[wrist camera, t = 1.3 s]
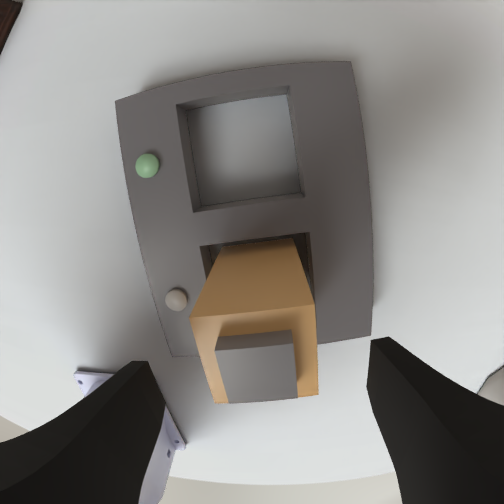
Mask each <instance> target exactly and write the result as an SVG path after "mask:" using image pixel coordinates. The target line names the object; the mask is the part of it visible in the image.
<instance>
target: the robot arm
mask: <svg viewBox="0 0 504 504" xmlns="http://www.w3.org/2000/svg"><path fill="white" fill-rule="evenodd" d="M73 376H74V378H75V380H76V382H77V384H78V385H79V387H80V389H81V391H82V392H83V394H84V398H83V399H82V400H81V401H79V402H78V403H77V404H75V405H74V406H72V407H71V408H70V409H68V410H67V411H65V412H64V413H62V414H61V415H59V416H58V417H56V418H54V419H53V420H51V421H49V422H47V423H46V424H44V425H42V426H40V427H38V428H36V429H34V430H32V431H29V432H27V433H25V434H23V435H21V436H18V437H16V438H13V439H10V440H8V441H5V442H1V443H0V504H158V503H159V502H160V500H161V498H162V496H163V493H164V490H165V486H166V483H167V479H168V476H169V472H170V468H171V465H172V461H173V458H174V454H175V450H185V448H186V445H185V443H184V441H183V439H182V437H181V435H180V433H179V431H178V429H177V427H176V425H175V423H174V421H173V419H172V417H171V415H170V413H169V411H168V409H167V407H166V403H165V400H164V398H163V396H162V394H161V392H160V389H159V387H158V385H157V383H156V380H155V378H154V376H153V373H152V371H151V368H150V366H149V363H148V361H131V362H130V363H129V364H127V365H126V366H124V367H123V368H122V369H120V370H119V371H118V372H117V373H115V374H108V373H94V372H82V371H76V372H75V373H74V375H73ZM366 387H367V391H368V395H369V399H370V403H371V406H372V410H373V413H374V416H375V419H376V421H377V424H378V426H379V429H380V431H381V434H382V436H383V439H384V441H385V444H386V446H387V449H388V452H389V454H390V457H391V459H392V462H393V465H394V468H395V471H396V474H397V479H398V483H399V488H400V493H401V498H402V503H403V504H504V405H501V404H498V403H496V402H493V401H491V400H488V399H486V398H484V397H482V396H480V395H478V394H476V393H474V392H472V391H470V390H468V389H466V388H464V387H462V386H460V385H459V384H457V383H455V382H454V381H452V380H450V379H449V378H447V377H445V376H444V375H442V374H441V373H439V372H438V371H436V370H435V369H433V368H432V367H430V366H429V365H427V364H426V363H425V362H423V361H422V360H420V359H419V358H418V357H416V356H415V355H413V354H412V353H411V352H409V351H408V350H407V349H405V348H404V347H403V346H401V345H400V344H399V343H397V342H396V341H394V340H393V339H392V338H390V337H384V338H379V339H374V340H371V345H370V357H369V368H368V378H367V386H366Z"/></svg>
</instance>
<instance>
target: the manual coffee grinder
mask: <svg viewBox="0 0 504 504" xmlns="http://www.w3.org/2000/svg"><path fill="white" fill-rule="evenodd" d="M21 6H22V3H21V2H15V1H12V0H0V54H1V51H2V49H3V46H4V44H5V42H6V39H7V37H8V35H9V33H10V31H11V28H12V26H13V24H14V22H15V20H16V18H17V16H18V14H19V12H20V9H21Z"/></svg>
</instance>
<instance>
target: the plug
mask: <svg viewBox="0 0 504 504" xmlns="http://www.w3.org/2000/svg"><path fill="white" fill-rule="evenodd" d="M189 320H190V323H191V327H192V331H193V334H194V338H195V341H196V345H197V348H198V351H199V355H200V358H201V361H202V365H203V368H204V371H205V374H206V378H207V381H208V384H209V387H210V390H211V393H212V396H213V399H214V402H215V403H249V402H263V401H274V400H284V399H293V398H298V397H306V396H313V395H318V359H317V335H316V316H315V303H314V300H313V297H312V294H311V291H310V288H309V285H308V282H307V279H306V276H305V273H304V270H303V267H302V264H301V261H300V258H299V255H298V252H297V249H296V246H295V243H294V241H293V238H287V239H279V240H272V241H264V242H256V243H248V244H241V245H233V246H225V247H222V248H221V250H220V252H219V254H218V256H217V259H216V261H215V263H214V265H213V267H212V269H211V271H210V273H209V276H208V278H207V280H206V282H205V284H204V286H203V288H202V291H201V293H200V295H199V297H198V299H197V301H196V304H195V306H194V308H193V310H192V312H191V315H190V317H189Z"/></svg>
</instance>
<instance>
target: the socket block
mask: <svg viewBox="0 0 504 504" xmlns="http://www.w3.org/2000/svg"><path fill="white" fill-rule="evenodd" d="M284 94H287V99H288V105H289V111H290V117H291V124H292V130H293V137H294V144H295V151H296V158H297V165H298V173H299V180H300V188H301V193H295V194H287V195H279V196H271V197H264V198H256V199H249V200H242V201H235V202H228V203H222V204H215V205H209V206H203V207H201V202H200V197H199V191H198V185H197V179H196V173H195V167H194V161H193V154H192V148H191V142H190V135H189V128H188V121H187V114H186V110H190V109H195V108H200V107H205V106H210V105H215V104H220V103H226V102H232V101H238V100H244V99H251V98H258V97H266V96H274V95H284ZM115 106H116V115H117V124H118V132H119V139H120V147H121V153H122V160H123V166H124V172H125V178H126V184H127V189H128V194H129V200H130V205H131V210H132V214H133V219H134V224H135V228H136V233H137V237H138V241H139V246H140V250H141V254H142V258H143V262H144V266H145V269H146V273H147V277H148V281H149V284H150V288H151V291H152V295H153V298H154V302H155V305H156V309H157V312H158V315H159V318H160V322H161V325H162V328H163V331H164V334H165V337H166V340H167V343H168V346H169V349H170V352H171V355H172V357H184V356H200V355H199V351H198V348H197V345H196V341H195V338H194V334H193V331H192V327H191V323H190V320H189V317H190V315H191V312H192V310H193V308H194V306H195V304H196V301H197V299H198V297H199V295H200V293H201V291H202V288H203V286H204V284H205V282H206V280H207V278H208V276H209V273H210V271H211V269H212V267H213V266H212V261H211V256H210V251H209V246H208V245H212V244H219V243H227V242H234V241H242V240H250V239H257V238H265V237H273V236H280V235H288V234H296V233H304V232H305V233H306V243H307V253H308V265H309V276H310V289H311V294H312V297H313V300H314V303H315V316H316V335H317V344H324V343H330V342H337V341H343V340H349V339H354V338H360V337H365V336H371V327H372V304H373V238H372V215H371V199H370V186H369V175H368V165H367V156H366V148H365V140H364V133H363V126H362V119H361V113H360V107H359V101H358V95H357V90H356V85H355V79H354V75H353V70H352V65H351V61H336V62H308V63H293V64H281V65H271V66H263V67H255V68H248V69H241V70H235V71H229V72H223V73H218V74H212V75H207V76H203V77H198V78H193V79H189V80H185V81H181V82H177V83H173V84H169V85H165V86H161V87H158V88H154V89H151V90H147V91H144V92H141V93H138V94H134V95H131V96H128V97H125V98H122V99H119V100H116V101H115Z"/></svg>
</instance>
